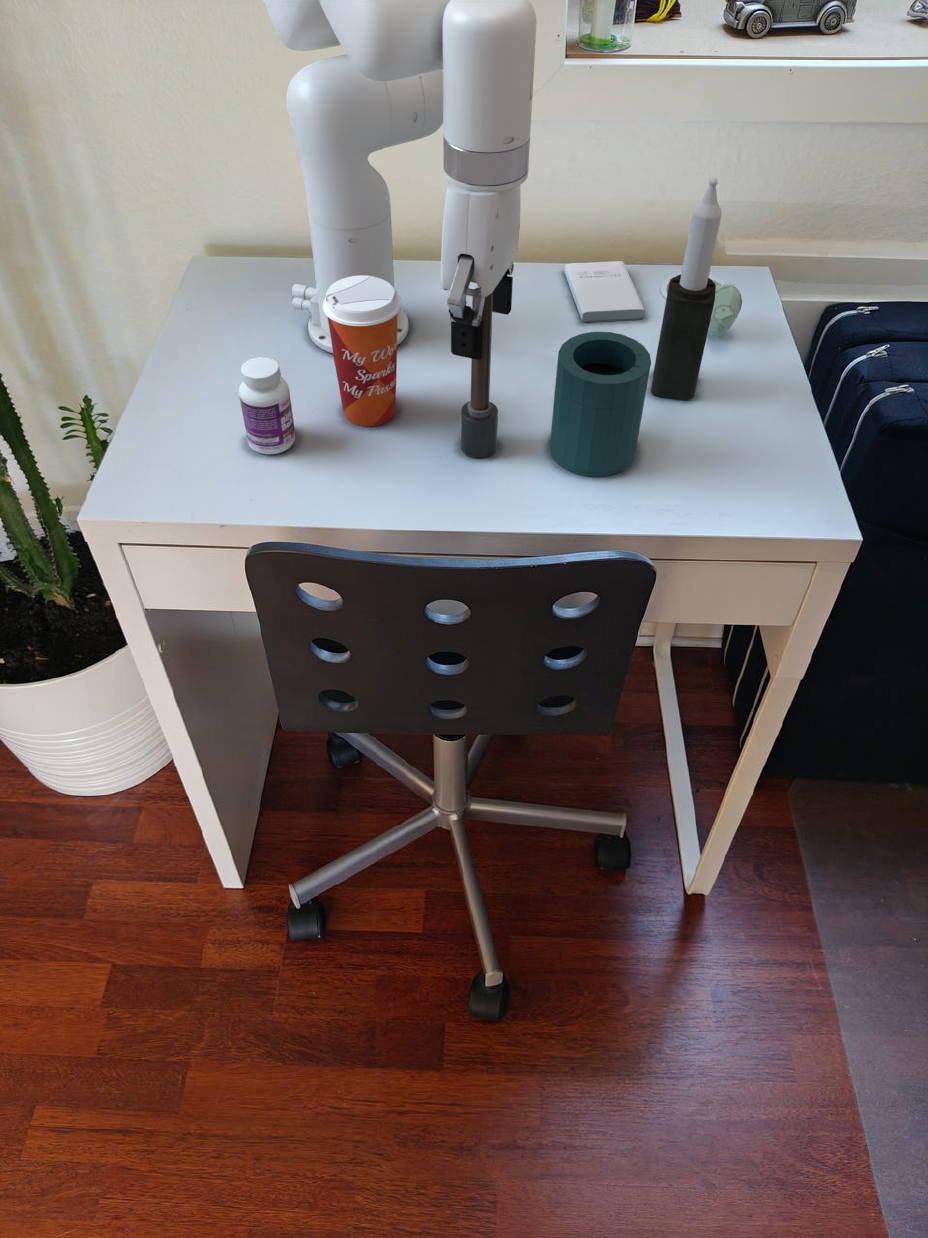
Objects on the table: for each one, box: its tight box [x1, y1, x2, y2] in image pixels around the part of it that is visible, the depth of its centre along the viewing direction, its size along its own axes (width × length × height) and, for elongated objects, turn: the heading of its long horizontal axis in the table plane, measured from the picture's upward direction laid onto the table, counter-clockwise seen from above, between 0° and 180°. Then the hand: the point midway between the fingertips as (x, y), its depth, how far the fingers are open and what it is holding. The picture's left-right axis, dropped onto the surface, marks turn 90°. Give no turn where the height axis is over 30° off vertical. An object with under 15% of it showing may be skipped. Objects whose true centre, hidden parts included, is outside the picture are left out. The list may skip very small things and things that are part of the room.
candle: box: [650, 177, 723, 401], centre depth 110 cm, size 5×5×25 cm
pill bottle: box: [238, 356, 296, 455], centre depth 108 cm, size 5×5×10 cm
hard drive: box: [564, 260, 646, 323], centre depth 132 cm, size 2×8×12 cm
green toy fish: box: [708, 283, 743, 337], centre depth 124 cm, size 8×4×7 cm, turn 2°
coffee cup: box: [323, 275, 402, 427], centre depth 110 cm, size 8×8×15 cm
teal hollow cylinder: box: [549, 331, 652, 478], centre depth 107 cm, size 9×9×12 cm
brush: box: [460, 286, 499, 459], centre depth 104 cm, size 4×4×19 cm
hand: (481, 332), depth 100 cm, fingers open, 8 cm apart
